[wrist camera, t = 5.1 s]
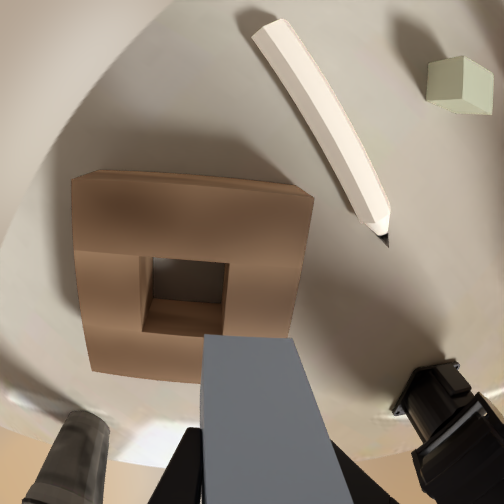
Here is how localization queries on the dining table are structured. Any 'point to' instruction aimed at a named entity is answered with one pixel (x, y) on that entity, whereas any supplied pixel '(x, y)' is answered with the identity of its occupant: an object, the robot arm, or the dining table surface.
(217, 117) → the dining table surface
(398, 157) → the dining table surface
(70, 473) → the beverage cup
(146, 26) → the dining table surface
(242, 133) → the dining table surface
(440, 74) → the short block
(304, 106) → the marker
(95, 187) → the walnut block
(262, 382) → the slate pin
